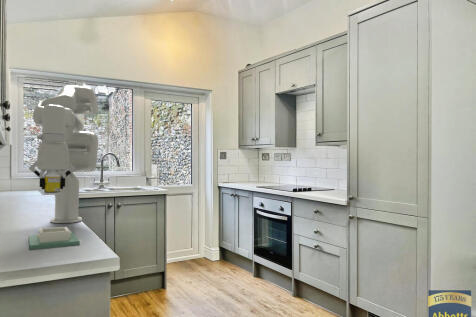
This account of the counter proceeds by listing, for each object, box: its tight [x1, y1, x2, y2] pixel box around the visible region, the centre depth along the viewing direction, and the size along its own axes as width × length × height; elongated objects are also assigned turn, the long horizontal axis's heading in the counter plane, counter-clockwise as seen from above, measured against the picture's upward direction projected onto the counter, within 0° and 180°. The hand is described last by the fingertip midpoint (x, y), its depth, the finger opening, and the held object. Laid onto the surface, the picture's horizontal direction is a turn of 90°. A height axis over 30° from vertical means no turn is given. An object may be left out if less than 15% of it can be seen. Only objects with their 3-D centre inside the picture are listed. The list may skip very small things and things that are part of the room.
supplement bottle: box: [43, 170, 61, 196], centre depth 129 cm, size 5×5×10 cm
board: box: [28, 226, 80, 250], centre depth 118 cm, size 16×14×4 cm
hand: (52, 188), depth 129 cm, fingers closed on supplement bottle, 5 cm apart
